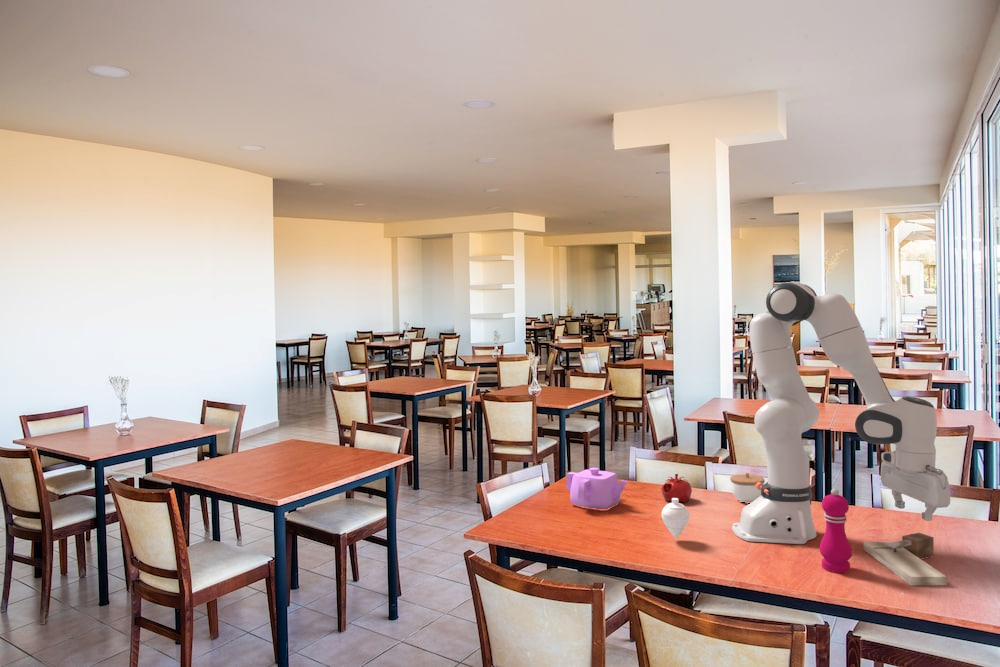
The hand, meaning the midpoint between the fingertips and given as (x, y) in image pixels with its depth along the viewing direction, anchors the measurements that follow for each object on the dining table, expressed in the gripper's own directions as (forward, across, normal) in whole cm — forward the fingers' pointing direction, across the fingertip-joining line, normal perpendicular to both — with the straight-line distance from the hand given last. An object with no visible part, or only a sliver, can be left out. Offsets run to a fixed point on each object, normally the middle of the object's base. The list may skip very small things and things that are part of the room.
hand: (912, 513), depth 175 cm
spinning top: (+13, +23, +54) cm, 60 cm away
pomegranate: (+14, +60, +39) cm, 73 cm away
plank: (+11, -6, +8) cm, 15 cm away
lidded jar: (+13, +54, +17) cm, 58 cm away
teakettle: (+15, +62, +66) cm, 92 cm away
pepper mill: (+11, -4, +24) cm, 27 cm away
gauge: (+11, -2, +2) cm, 11 cm away
